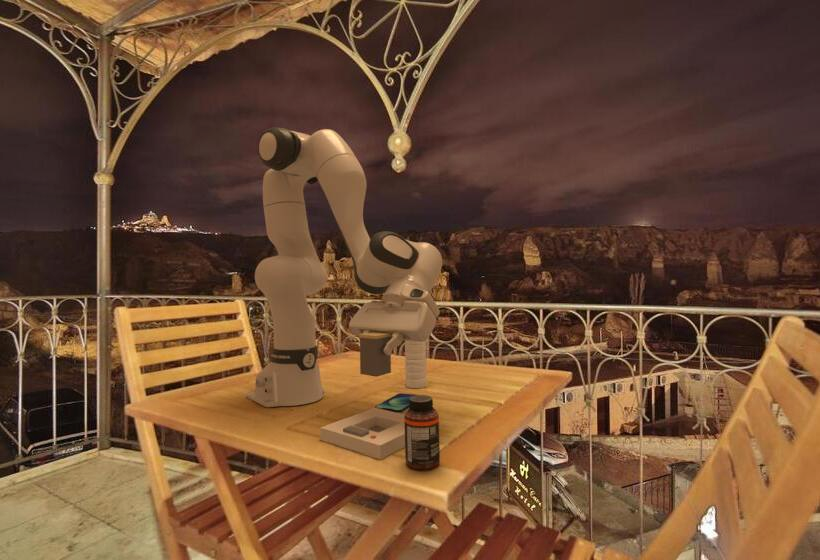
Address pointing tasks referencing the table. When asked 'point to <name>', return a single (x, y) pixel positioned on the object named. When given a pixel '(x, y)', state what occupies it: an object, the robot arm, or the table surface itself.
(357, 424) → the socket plate
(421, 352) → the water bottle
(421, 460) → the supplement bottle
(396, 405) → the smartphone
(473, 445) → the table surface
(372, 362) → the plug
